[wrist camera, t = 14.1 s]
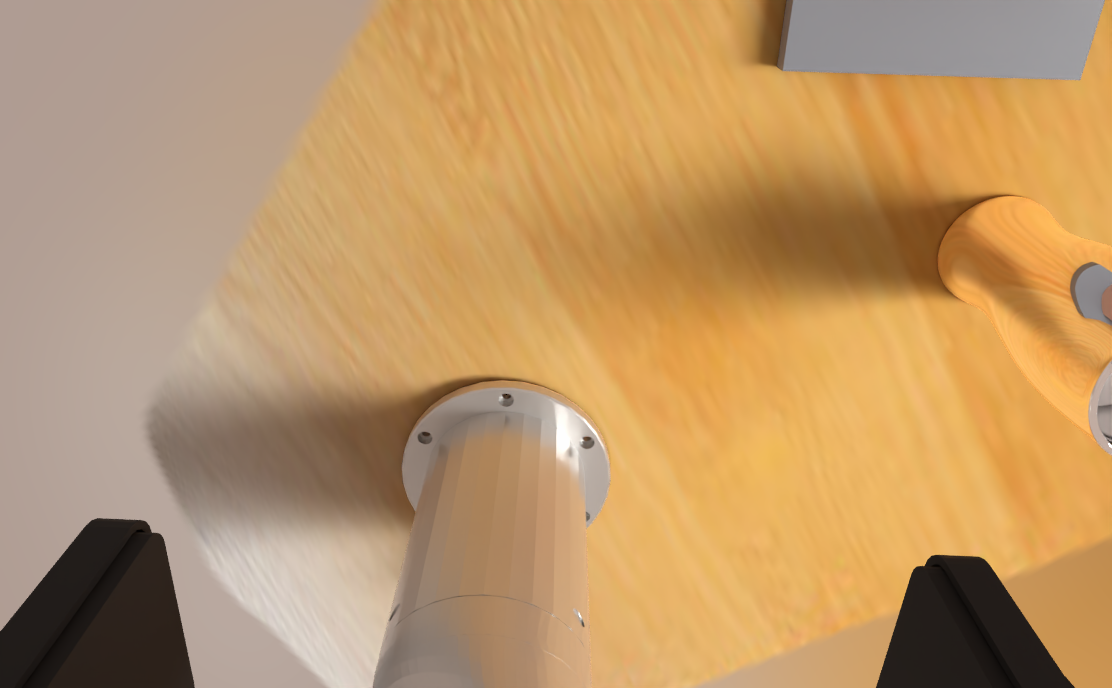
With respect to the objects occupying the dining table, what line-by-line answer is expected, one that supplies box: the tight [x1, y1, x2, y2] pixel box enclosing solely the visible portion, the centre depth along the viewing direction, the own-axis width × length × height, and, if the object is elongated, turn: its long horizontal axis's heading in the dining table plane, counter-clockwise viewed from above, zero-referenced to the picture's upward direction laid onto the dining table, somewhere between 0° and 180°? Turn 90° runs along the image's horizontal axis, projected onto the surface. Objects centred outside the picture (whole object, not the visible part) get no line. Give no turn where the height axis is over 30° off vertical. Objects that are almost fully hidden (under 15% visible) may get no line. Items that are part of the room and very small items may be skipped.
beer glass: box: [938, 196, 1112, 455], centre depth 37 cm, size 7×7×15 cm
